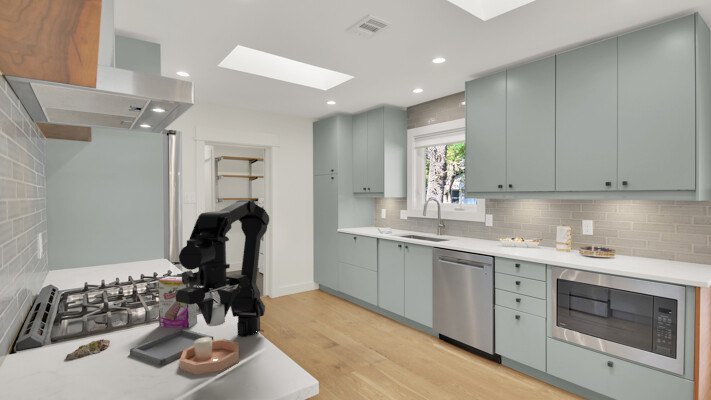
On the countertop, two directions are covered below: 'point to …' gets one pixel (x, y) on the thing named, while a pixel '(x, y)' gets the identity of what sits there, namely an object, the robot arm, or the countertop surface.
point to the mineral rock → (89, 349)
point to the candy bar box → (174, 305)
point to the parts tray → (167, 346)
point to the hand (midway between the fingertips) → (215, 320)
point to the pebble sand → (203, 348)
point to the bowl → (222, 357)
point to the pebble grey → (217, 315)
